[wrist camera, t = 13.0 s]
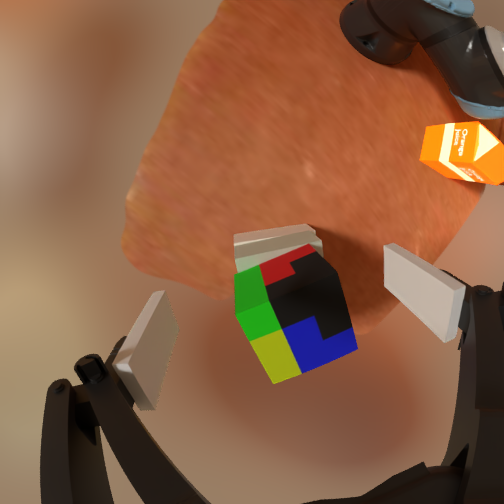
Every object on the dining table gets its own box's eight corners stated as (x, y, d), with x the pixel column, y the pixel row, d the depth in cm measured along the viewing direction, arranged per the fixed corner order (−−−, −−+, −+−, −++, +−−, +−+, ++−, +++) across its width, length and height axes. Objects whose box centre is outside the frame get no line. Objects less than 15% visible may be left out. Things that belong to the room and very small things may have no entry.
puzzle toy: (330, 307, 36) (358, 348, 27) (263, 335, 37) (273, 384, 27) (308, 243, 33) (336, 271, 24) (234, 274, 34) (235, 314, 24)
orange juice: (447, 178, 44) (520, 191, 25) (419, 160, 42) (497, 166, 23) (453, 145, 42) (525, 147, 23) (426, 125, 40) (502, 118, 21)
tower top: (309, 230, 39) (321, 240, 33) (317, 296, 42) (329, 315, 37) (234, 245, 39) (234, 259, 33) (249, 312, 42) (252, 333, 37)
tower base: (305, 223, 45) (315, 230, 39) (310, 288, 48) (320, 303, 43) (233, 233, 45) (233, 243, 39) (244, 299, 48) (246, 316, 43)
